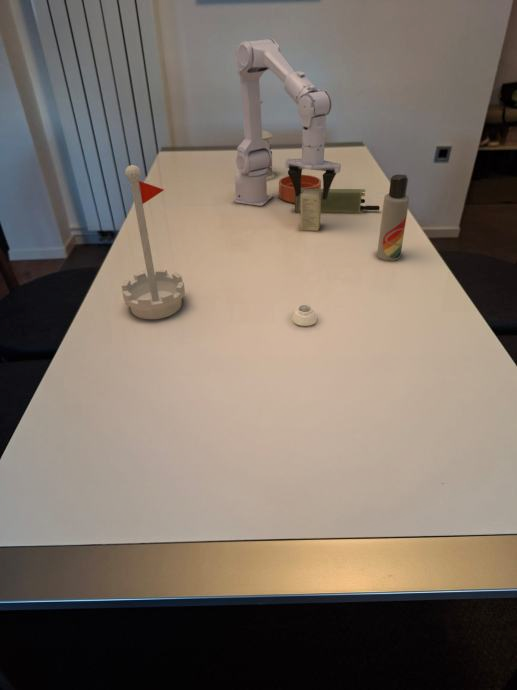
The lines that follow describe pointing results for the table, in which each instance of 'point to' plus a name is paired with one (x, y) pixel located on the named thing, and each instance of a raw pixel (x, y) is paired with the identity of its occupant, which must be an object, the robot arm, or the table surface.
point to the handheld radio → (340, 201)
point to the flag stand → (150, 265)
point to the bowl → (288, 189)
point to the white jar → (304, 315)
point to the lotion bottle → (393, 219)
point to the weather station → (267, 136)
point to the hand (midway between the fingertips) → (311, 196)
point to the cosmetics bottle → (310, 210)
